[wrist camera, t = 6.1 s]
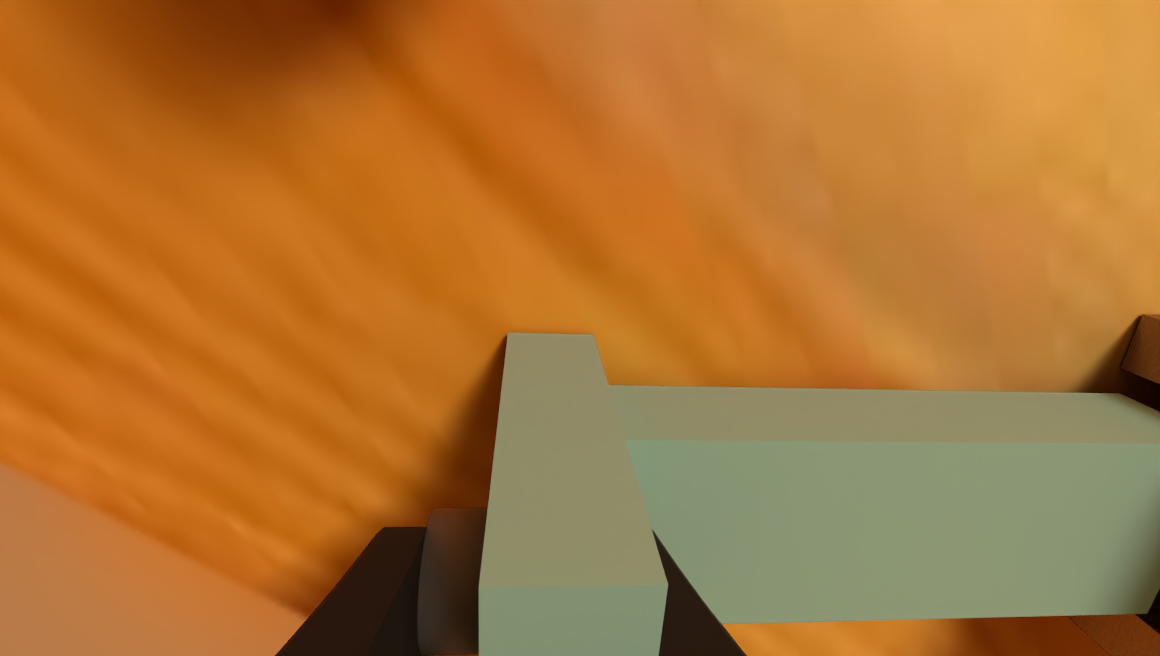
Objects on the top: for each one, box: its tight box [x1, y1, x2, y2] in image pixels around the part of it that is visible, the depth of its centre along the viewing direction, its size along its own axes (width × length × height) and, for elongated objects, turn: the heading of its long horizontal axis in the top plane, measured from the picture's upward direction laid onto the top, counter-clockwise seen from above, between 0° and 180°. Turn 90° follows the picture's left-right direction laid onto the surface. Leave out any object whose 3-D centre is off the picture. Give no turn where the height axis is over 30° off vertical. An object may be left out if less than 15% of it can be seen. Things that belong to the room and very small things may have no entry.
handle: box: [417, 332, 1160, 656], centre depth 9 cm, size 14×6×6 cm, turn 87°
